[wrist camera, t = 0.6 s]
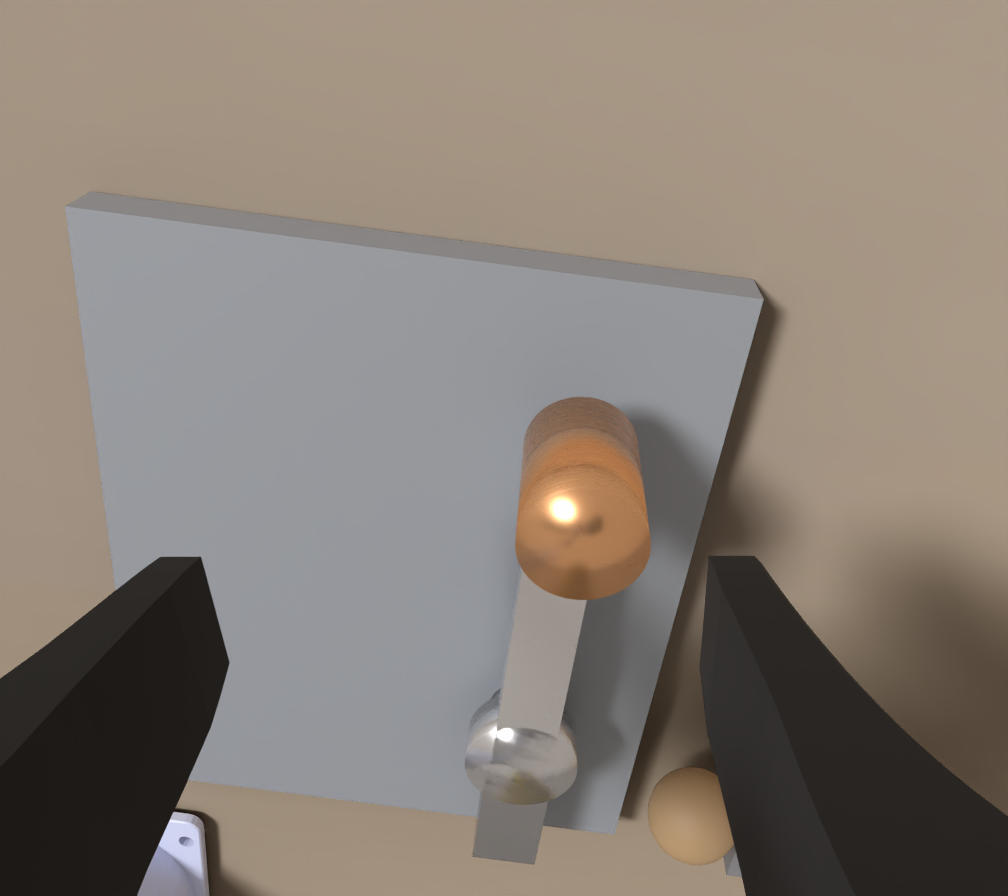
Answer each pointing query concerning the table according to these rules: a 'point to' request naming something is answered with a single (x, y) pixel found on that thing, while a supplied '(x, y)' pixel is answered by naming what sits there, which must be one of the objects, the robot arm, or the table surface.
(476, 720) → the lever
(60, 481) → the table surface
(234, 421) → the base
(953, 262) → the table surface
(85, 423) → the table surface
